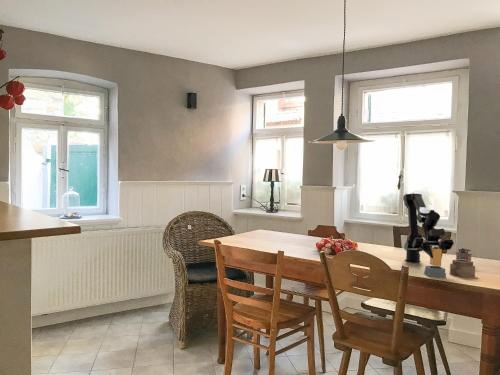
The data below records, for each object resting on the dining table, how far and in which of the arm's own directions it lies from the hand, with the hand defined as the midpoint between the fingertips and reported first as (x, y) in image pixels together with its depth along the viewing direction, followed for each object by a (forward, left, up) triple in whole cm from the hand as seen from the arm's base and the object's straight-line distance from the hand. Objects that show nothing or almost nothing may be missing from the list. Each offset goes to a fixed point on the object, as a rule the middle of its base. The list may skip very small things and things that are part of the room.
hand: (436, 257), depth 215 cm
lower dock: (-1, +1, -9) cm, 9 cm away
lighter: (-5, +35, -9) cm, 37 cm away
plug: (-1, +1, -4) cm, 4 cm away
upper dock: (+5, +14, -9) cm, 18 cm away
